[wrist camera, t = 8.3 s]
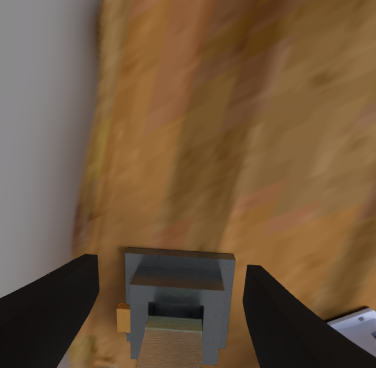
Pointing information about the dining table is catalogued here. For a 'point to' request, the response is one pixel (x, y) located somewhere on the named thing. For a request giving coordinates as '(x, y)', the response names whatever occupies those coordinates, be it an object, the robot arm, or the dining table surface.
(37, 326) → the robot arm
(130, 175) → the dining table surface
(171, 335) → the post
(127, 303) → the stand base
